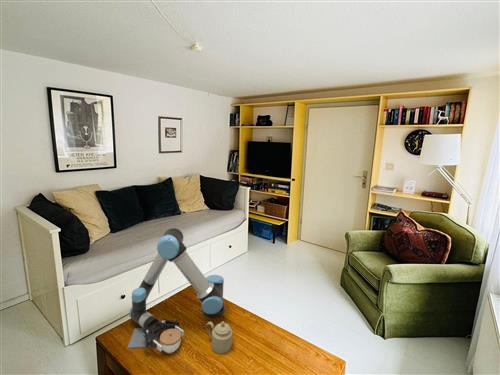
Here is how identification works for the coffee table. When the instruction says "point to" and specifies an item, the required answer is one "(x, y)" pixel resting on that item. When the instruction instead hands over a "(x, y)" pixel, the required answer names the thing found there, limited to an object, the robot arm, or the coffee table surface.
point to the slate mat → (140, 338)
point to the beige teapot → (220, 337)
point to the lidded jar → (170, 340)
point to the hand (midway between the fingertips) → (172, 341)
